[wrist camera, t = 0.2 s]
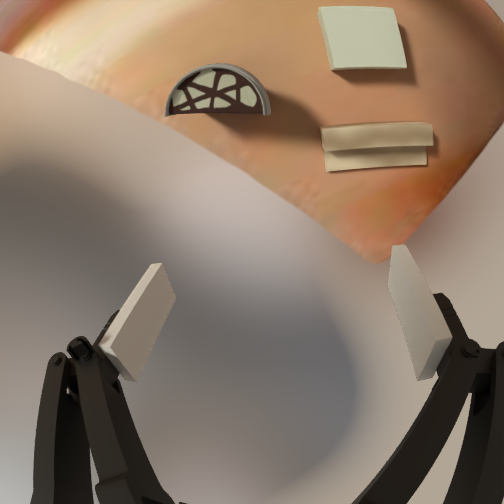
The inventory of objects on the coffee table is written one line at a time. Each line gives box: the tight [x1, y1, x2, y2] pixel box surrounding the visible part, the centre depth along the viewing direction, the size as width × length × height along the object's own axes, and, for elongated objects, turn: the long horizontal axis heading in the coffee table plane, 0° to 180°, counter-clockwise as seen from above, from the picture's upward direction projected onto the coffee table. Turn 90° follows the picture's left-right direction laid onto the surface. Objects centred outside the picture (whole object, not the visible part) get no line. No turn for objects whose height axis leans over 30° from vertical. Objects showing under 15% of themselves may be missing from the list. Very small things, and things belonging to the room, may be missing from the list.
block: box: [317, 6, 407, 71], centre depth 26 cm, size 9×10×4 cm
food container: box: [165, 63, 271, 117], centre depth 30 cm, size 12×6×10 cm, turn 88°
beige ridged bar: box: [319, 122, 433, 172], centre depth 34 cm, size 6×16×4 cm, turn 102°
